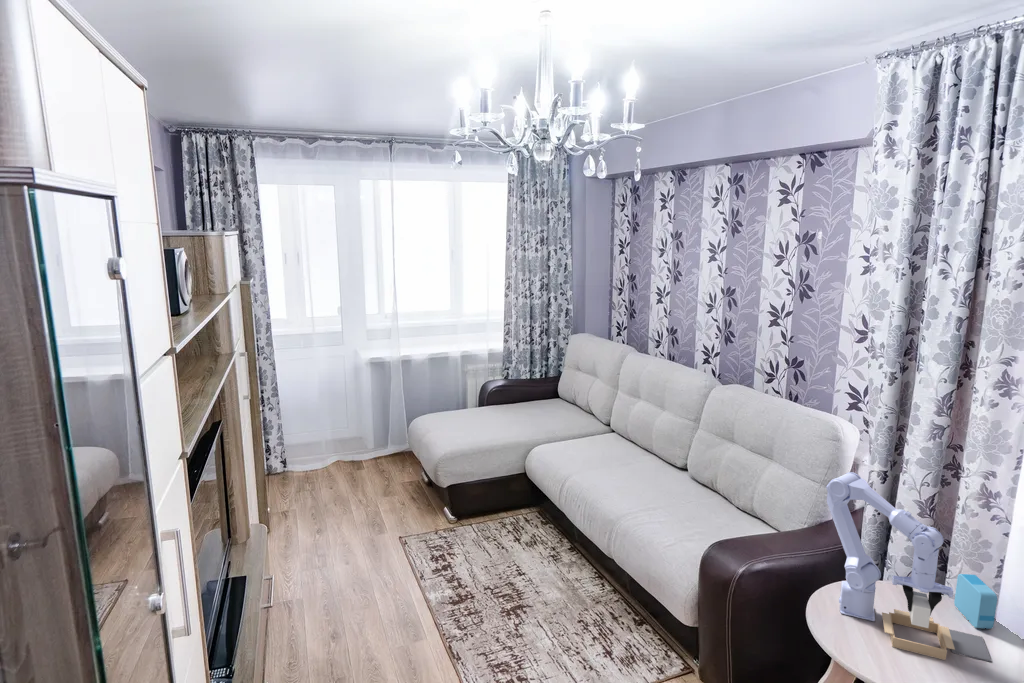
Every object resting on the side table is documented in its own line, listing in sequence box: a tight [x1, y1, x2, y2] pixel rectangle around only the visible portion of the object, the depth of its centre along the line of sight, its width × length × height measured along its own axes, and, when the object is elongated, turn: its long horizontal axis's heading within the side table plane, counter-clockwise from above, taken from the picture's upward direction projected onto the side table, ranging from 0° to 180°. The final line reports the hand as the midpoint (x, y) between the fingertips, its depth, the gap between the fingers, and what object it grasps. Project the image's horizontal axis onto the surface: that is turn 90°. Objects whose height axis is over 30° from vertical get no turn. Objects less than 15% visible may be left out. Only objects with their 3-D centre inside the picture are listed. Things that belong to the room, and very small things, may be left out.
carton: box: [881, 608, 955, 661], centre depth 178 cm, size 17×15×3 cm
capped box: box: [908, 590, 931, 628], centre depth 176 cm, size 4×8×6 cm, turn 153°
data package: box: [953, 573, 998, 630], centre depth 186 cm, size 12×4×12 cm, turn 173°
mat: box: [949, 629, 992, 663], centre depth 175 cm, size 9×11×1 cm
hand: (918, 611), depth 176 cm, fingers closed on capped box, 4 cm apart
